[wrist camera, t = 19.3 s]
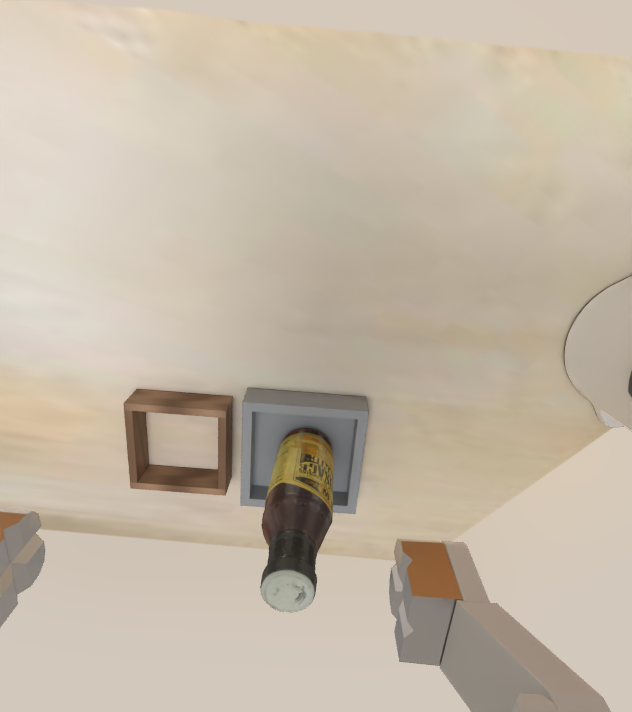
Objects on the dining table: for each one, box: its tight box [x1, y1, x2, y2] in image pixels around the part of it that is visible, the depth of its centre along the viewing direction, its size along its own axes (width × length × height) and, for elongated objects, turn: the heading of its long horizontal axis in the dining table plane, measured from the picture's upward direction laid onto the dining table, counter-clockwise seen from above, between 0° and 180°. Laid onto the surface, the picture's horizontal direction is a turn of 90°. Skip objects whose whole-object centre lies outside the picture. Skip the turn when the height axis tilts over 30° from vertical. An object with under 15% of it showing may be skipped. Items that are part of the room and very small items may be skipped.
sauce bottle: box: [260, 428, 334, 612], centre depth 42 cm, size 6×6×20 cm
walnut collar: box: [124, 389, 233, 495], centre depth 50 cm, size 11×11×4 cm
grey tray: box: [240, 388, 369, 514], centre depth 50 cm, size 13×13×4 cm
